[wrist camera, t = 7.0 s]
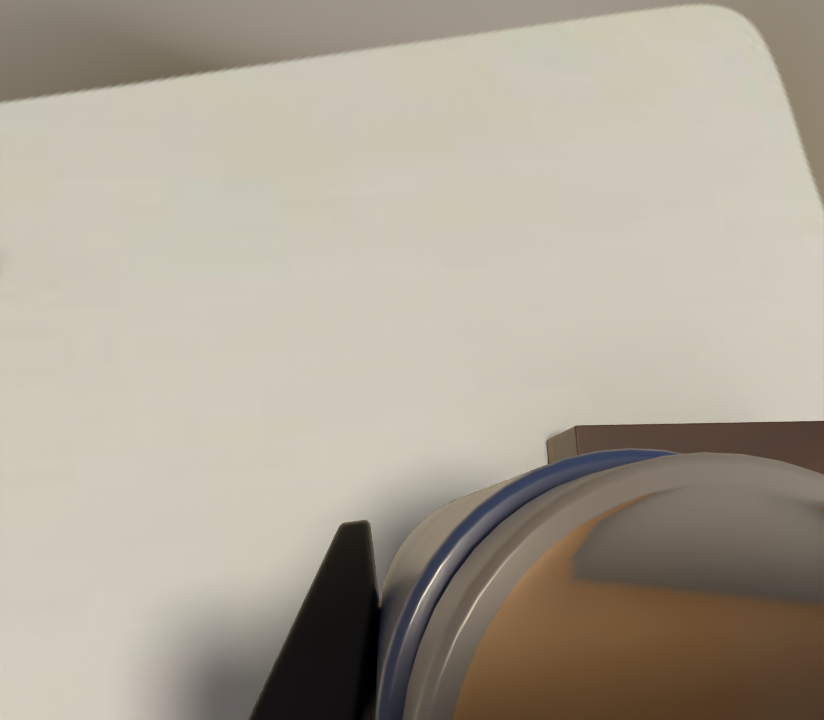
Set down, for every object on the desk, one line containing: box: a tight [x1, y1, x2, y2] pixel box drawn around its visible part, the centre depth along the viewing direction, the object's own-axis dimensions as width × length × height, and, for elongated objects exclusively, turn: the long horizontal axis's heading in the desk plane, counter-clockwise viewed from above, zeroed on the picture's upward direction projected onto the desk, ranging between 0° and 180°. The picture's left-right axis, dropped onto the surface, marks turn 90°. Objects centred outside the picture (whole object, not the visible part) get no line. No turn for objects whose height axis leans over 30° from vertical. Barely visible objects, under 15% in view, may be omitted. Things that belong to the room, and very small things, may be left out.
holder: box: [547, 421, 824, 475], centre depth 20 cm, size 15×9×4 cm, turn 1°
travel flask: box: [375, 448, 824, 720], centre depth 9 cm, size 4×4×12 cm
